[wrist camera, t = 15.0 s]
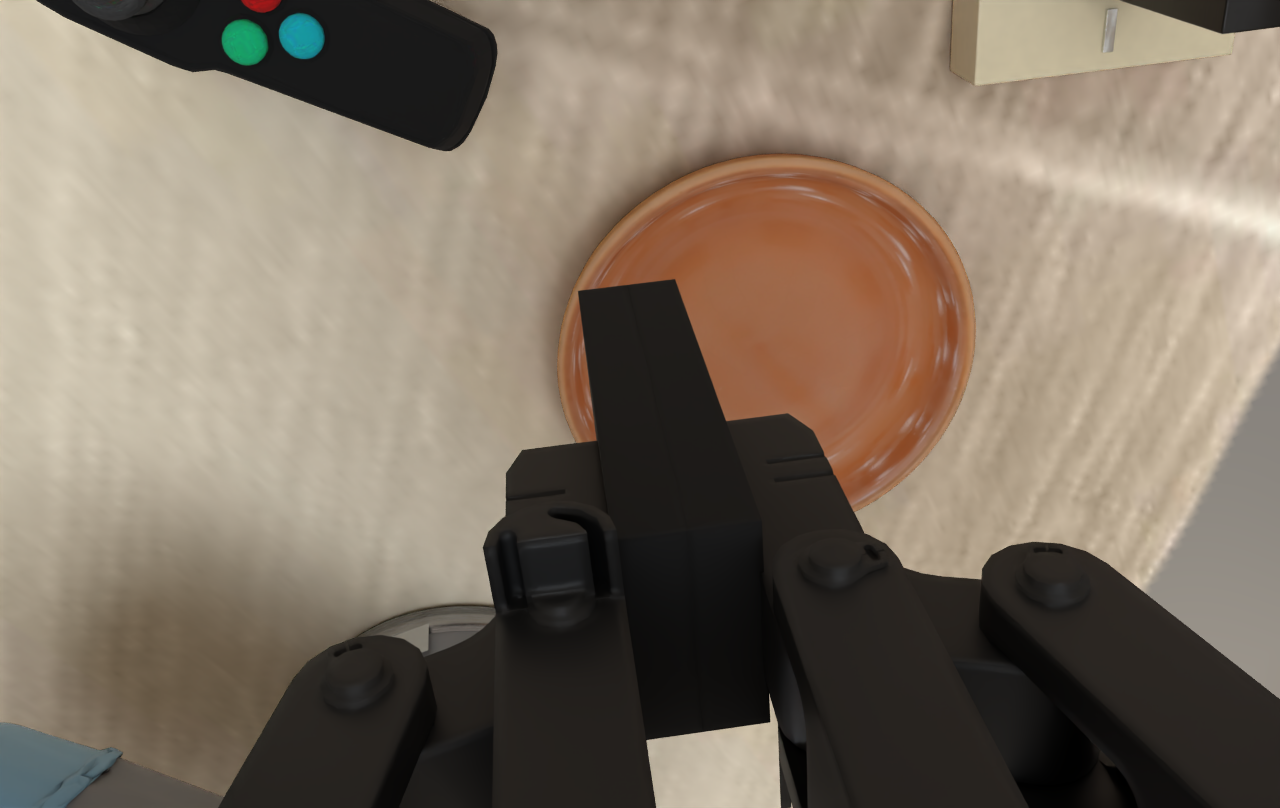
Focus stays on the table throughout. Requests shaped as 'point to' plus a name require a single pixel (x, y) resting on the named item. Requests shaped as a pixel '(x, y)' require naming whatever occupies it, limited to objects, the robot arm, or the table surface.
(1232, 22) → the black upright block
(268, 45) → the controller
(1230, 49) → the beige flat block
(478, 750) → the robot arm
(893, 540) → the table surface
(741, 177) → the saucer
